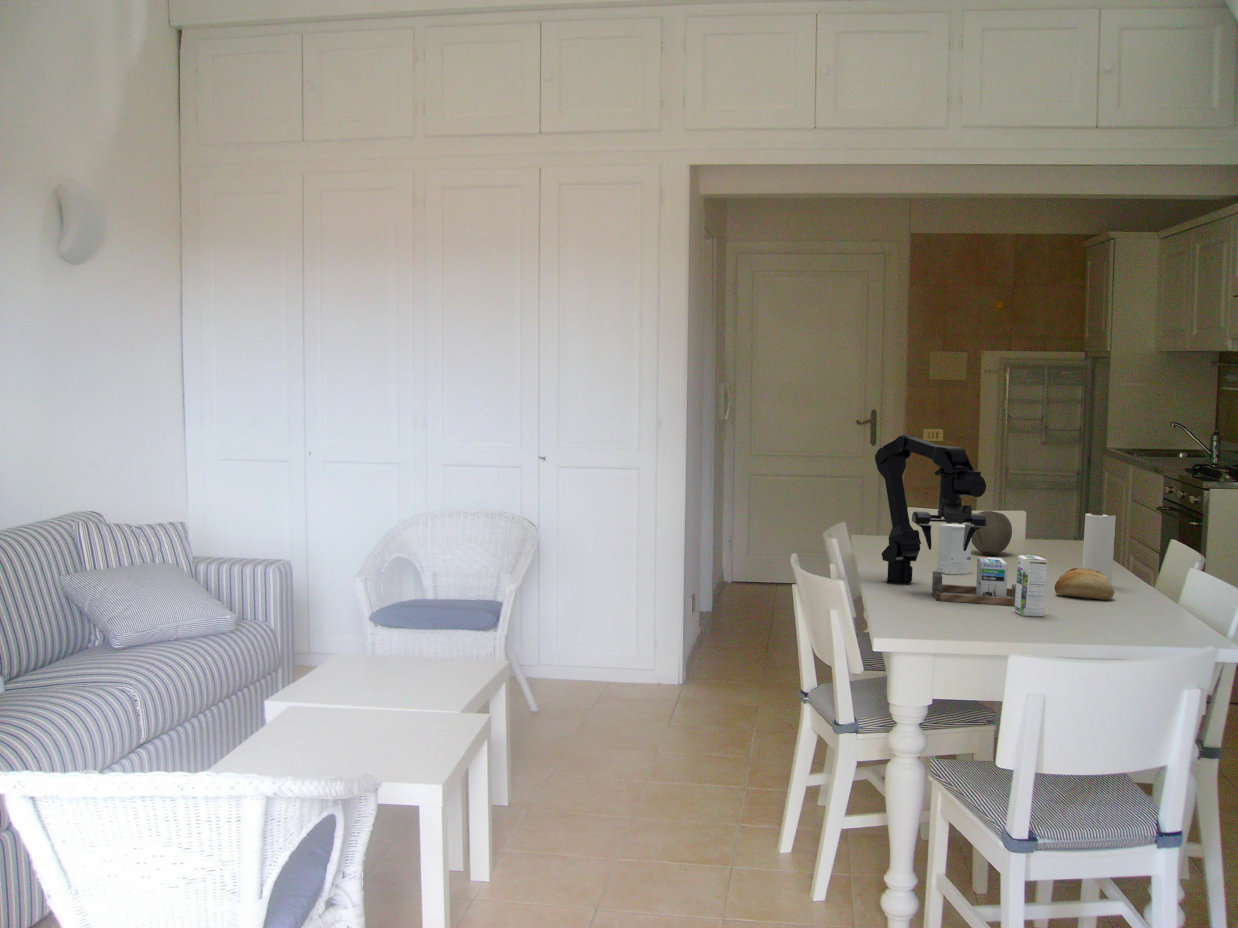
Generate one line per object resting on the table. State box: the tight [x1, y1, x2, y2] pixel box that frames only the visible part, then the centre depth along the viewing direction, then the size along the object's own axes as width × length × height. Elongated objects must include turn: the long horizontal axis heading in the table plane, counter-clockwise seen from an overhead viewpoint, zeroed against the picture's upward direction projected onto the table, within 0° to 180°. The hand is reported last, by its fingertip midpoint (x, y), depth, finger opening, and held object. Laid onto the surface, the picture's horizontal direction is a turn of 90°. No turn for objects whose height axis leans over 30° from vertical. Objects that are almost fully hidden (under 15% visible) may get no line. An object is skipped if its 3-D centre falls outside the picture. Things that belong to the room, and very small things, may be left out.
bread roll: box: [1054, 567, 1115, 601], centre depth 292 cm, size 10×15×8 cm, turn 73°
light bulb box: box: [975, 555, 1009, 597], centre depth 286 cm, size 11×7×11 cm, turn 168°
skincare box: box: [936, 523, 972, 576], centre depth 326 cm, size 8×6×15 cm
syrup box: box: [1014, 554, 1048, 617], centre depth 268 cm, size 6×6×14 cm
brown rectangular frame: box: [931, 571, 1016, 607], centre depth 287 cm, size 22×15×6 cm
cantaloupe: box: [971, 510, 1013, 556], centre depth 365 cm, size 14×14×15 cm
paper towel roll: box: [1081, 513, 1117, 586], centre depth 306 cm, size 7×6×21 cm
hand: (947, 550), depth 290 cm, fingers open, 9 cm apart
